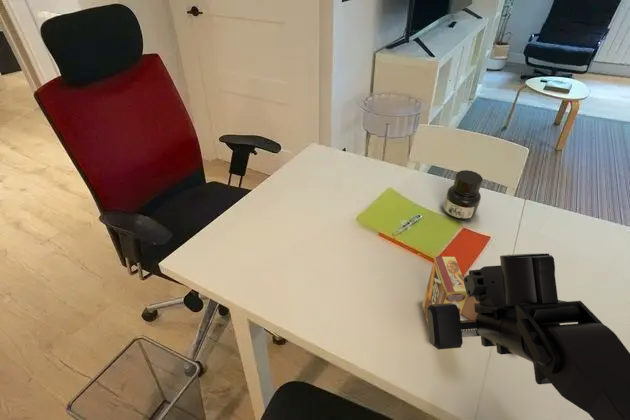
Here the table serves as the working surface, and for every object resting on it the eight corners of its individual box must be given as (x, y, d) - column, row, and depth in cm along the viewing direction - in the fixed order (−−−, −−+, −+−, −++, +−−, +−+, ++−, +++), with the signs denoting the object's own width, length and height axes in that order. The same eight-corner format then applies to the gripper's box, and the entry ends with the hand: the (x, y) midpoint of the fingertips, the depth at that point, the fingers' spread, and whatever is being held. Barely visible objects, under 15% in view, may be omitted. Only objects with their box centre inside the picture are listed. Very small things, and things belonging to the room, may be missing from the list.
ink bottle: (435, 211, 107) (444, 176, 100) (450, 198, 112) (459, 164, 105) (467, 226, 102) (480, 191, 95) (481, 211, 107) (494, 177, 100)
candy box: (451, 340, 75) (471, 291, 65) (430, 340, 75) (447, 292, 65) (439, 304, 82) (455, 255, 72) (420, 304, 82) (434, 255, 72)
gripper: (579, 266, 50) (511, 262, 66) (445, 275, 49) (408, 269, 64) (591, 351, 49) (519, 327, 64) (453, 362, 48) (414, 335, 63)
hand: (465, 313), depth 64 cm, fingers open, 9 cm apart
